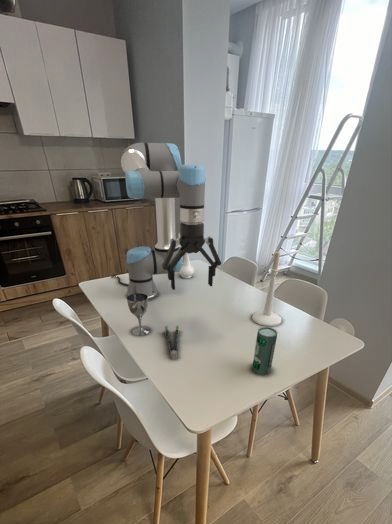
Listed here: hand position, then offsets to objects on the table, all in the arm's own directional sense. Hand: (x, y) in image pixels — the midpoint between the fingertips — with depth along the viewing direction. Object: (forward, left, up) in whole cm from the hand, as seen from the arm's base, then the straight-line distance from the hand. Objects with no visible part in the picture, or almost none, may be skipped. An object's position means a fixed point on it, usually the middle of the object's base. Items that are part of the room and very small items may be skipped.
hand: (191, 286), depth 105 cm
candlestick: (-5, +38, -23) cm, 44 cm away
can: (+26, +16, -23) cm, 38 cm away
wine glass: (-14, -17, -23) cm, 32 cm away
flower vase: (-67, +23, -23) cm, 74 cm away
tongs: (0, -8, -22) cm, 24 cm away
